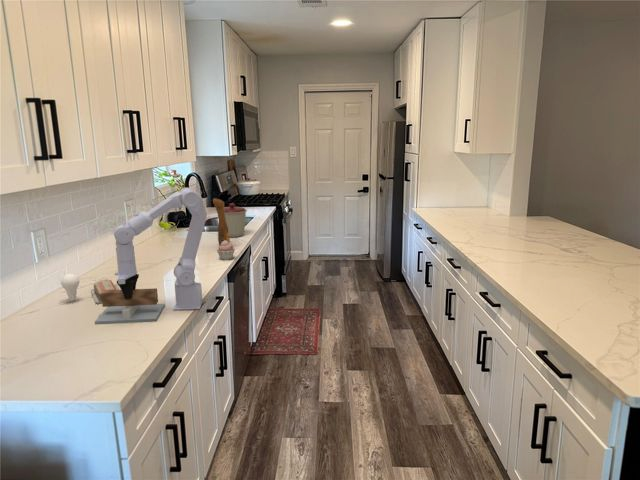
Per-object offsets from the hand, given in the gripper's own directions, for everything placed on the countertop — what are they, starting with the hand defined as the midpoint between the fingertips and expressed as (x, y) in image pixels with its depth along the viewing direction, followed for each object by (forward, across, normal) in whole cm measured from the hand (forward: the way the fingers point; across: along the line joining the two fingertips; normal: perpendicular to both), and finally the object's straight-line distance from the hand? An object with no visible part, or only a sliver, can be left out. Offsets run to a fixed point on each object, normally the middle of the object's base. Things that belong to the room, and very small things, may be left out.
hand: (129, 296), depth 154 cm
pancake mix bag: (+7, -95, +24) cm, 98 cm away
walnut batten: (+3, 0, 0) cm, 3 cm away
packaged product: (+7, -22, -15) cm, 28 cm away
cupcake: (+7, -70, +28) cm, 76 cm away
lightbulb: (+7, -16, -26) cm, 31 cm away
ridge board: (+7, 0, 0) cm, 7 cm away
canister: (+7, -124, +28) cm, 127 cm away
